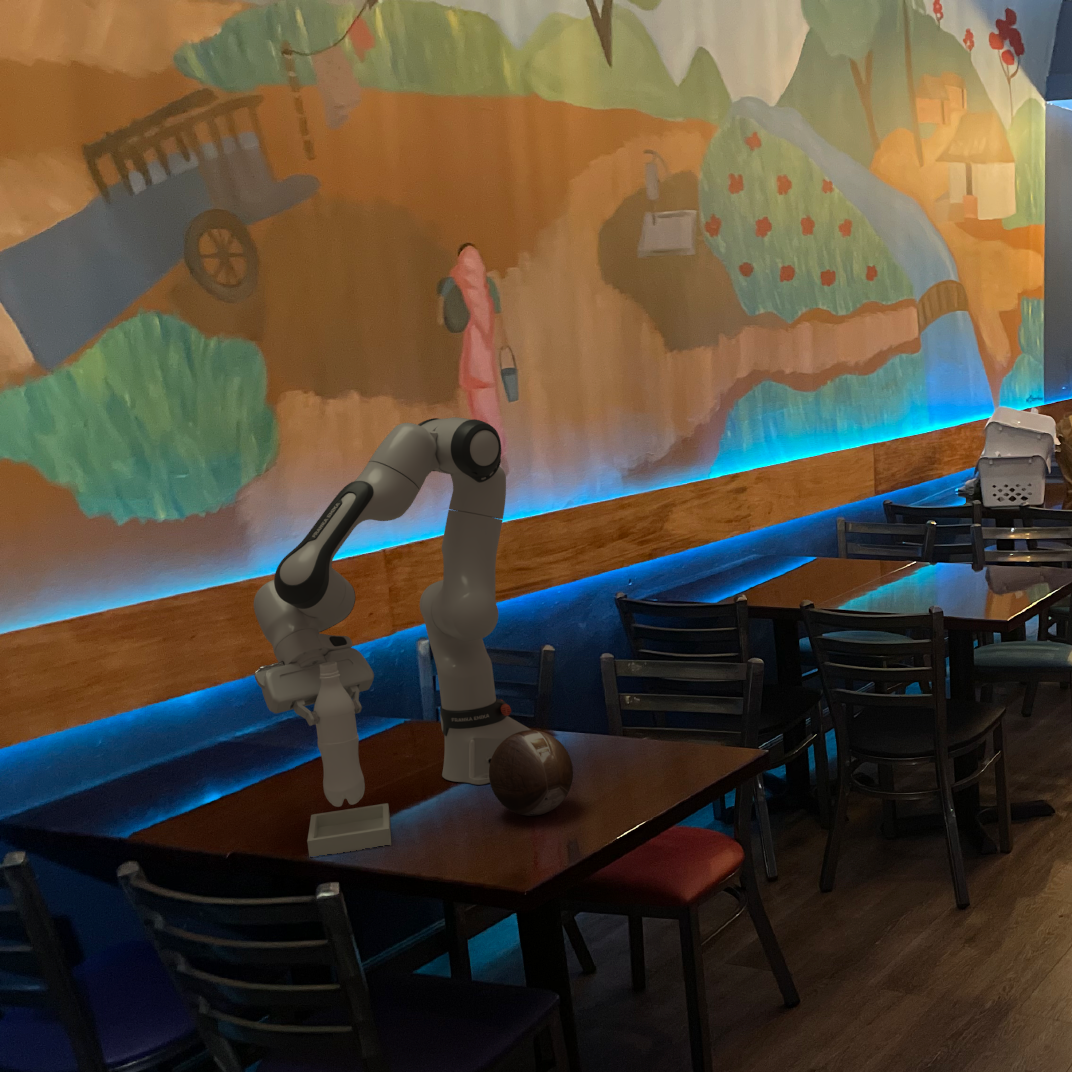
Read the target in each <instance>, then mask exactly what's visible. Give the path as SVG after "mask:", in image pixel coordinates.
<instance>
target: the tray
mask: <svg viewBox="0 0 1072 1072" xmlns="http://www.w3.org/2000/svg"><path fill="white" fill-rule="evenodd" d="M390 814H391V813H390V808H389V802H388V803H386V802H385V803H380V804H375V805H373V804H372V805H367V806H359V807H355V808H347V809H342V810H334V811H328V812H321V813H314V814H311V815H310V822H309V829H308V834H307V840H306V842H307V849H308V857H309V858H310V856H319V855H325V856H328V855H327V854H332V855H337V853H338V854H342V853H343V852H345V853H350V851H351V852H355V851H356V850H357V851H363V850H362V849H364V850H366V849H365V848H370V849H373V848H372V847H377V846H383V847H385V846H384V845H390V846H392V833H391V831H392V829H391V815H390ZM377 848H378V847H377ZM319 857H320V856H319Z"/></svg>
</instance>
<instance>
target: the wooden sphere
mask: <svg viewBox="0 0 1072 1072" xmlns="http://www.w3.org/2000/svg"><path fill="white" fill-rule="evenodd" d="M573 778H574V767H573V762H572V759H571V757H570V754H569V752H568V751H567V749H566V747H565V746H564V745H563V743H562V742H561V741H560V740H559V739H557V738H556V737H555V736H553V735H551V734H549V733H547V732H544V731H542V730H541V731H539V730H533V729H530V730H526V731H521V732H517V733H515V734H513V735H511V736H509V737H508V738H506V739H505V740H504V741H503V742H502V743H501V744H500V745H499V746H498V747H497V749H496V750H495V752H494V754H493V756H492V758H491V762H490V766H489V780H490V783H489V784H490V787H491V790H492V792H493V794H494V796H495V798H496V799H497V800H498V801H499V803H500V804H501V805H502V806H503V807H505V808H506V809H508V810H509V811H511V812H513V813H515V814H517V815H521V816H527V817H528V816H529V817H530V816H531V817H532V816H533V817H535V816H540V815H544V814H547V813H549V812H551V811H553V810H555V809H556V808H557V807H558V806H560V805H561V804H562V802H563V801H564V800H565V799H566V797H567V796H568V794H569V792H570V789H571V787H572V784H573Z"/></svg>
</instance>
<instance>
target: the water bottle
mask: <svg viewBox="0 0 1072 1072" xmlns="http://www.w3.org/2000/svg"><path fill="white" fill-rule="evenodd" d="M320 672H321V673H320V675H321V676H320V677H319V678H320V679H321V687H320V691H319V693H318V696H317V699H316V702H315V704H313V705H314V706H313V711H316V713H317V716H318V717H319V721H318V724H315V727H316V735H317V742H316V743H317V747H318V750H319V752H320V756H321V760H322V767H323V768H322V769H323V778H322V779H323V781H322V786H323V793H324V796H325V798H326V800H327V801H328V802H329V803H330V804H331V805H332V806H334V807H337V808H339V807H342V806H343V804H344V800H346V801H347V802H348V804H349V805H356V804H357V803H359V801H360V800H362V799H363V797H364V794H365V789H366V785H365V777H364V774H363V771H362V768H361V765H360V758H359V757H360V756H359V741H360V737H359V734H358V730H357V720H356V714H355V712H354V710H355V707H354V704H353V698H351V697H350V696H349V694H348V693H347V692H346V690H345V689H344V688H343V686H342V685H341V683H340V680H339V676H340V674H339V673H338V672H339V671H338V670H337V663H336V662H327V663H322V664H320Z"/></svg>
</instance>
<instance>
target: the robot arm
mask: <svg viewBox="0 0 1072 1072" xmlns="http://www.w3.org/2000/svg"><path fill="white" fill-rule="evenodd" d="M501 457H502V443H501V438H500V435H499V433H498V431H497V429H496V428H495V427H493V426H492V425H491V424H490V423H487V422H486V421H483V420H479V419H473V418H472V419H471V418H465V417H449V418H437V417H436V418H429V419H425V420H424V421H422V422H419V423H418V424H416V423H412V422H404V423H403V422H402V423H400V424H397V425H395V427H393V428H392V430H390V431H389V433H388V434H387V435H386V437H385V438H384V439H383V441H381V443H380V444H379V445H378V447H377V448H376V450H375V451H374V453H373V454H372V456H371V457H370V459H369V461H368V462H367V464H366V466H365V467H364V468H363V469H362V472H361V473H360V474H359V476H358V477H356V478H355V479H354V481H351V482H349V483H347V485H345V486H344V487H343V488H342V489H341V490H340V491H339V492H338V494H337V495H335V497H334V498H333V500H332V501H331V503H330V504H328V506H327V508H326V509H325V510H324V512H322V514H321V516H320V517H319V518H318V519H317V520H316V522H315V523H314V525H313V526H312V528H311V529H310V530H309V532H308V533H307V534H306V535H305V537H304V538H303V539H302V540H301V541H300V543H299V544H298V545H297V546H296V547H294V548H293V549H292V550H291V551H290V552H289V553H287V554H286V555H285V556H284V558H282V560H281V561H280V562H279V564H278V565H277V566H276V567H277V568H276V570H275V573H274V579H272V580H270V581H267V582H266V583H265V584H263V585H262V586H261V587H260V588H259V589H258V590H257V592H256V593H255V596H254V599H253V610H254V614H255V618H256V620H257V622H258V625H259V626H260V629H261V631H262V633H263V636H264V637H265V639H266V640H267V642H269V644H271V646H272V651H273V654H274V656H275V658H276V660H277V662H274V663H271V664H269V665H268V664H267V665H266V664H265V665H261V666H259V667H258V669H257V670H255V672H254V679H255V681H256V683H257V685H258V686H259V687H260V688H261V692H262V696H263V698H264V701H265V703H266V707H267V709H268V710H269V711H270V712H272V713H273V714H279V713H283V712H287V711H291V710H293V711H294V712H295V714H296V715H298V716H299V717H302V718H303V719H305V721H306V722H307V724H308V726H310V727H311V726H316V724H318V721H319V717H318V716H317V713H316V711H314V710H313V711H311V710H309V708H307V707H306V706H311V705H315V702H316V699H317V696H318V693H319V691H320V687H321V679H320V678H319V677H320V676H321V675H320V673H321V672H320V664H322V663H327V662H336V663H337V670H338V671H339V672H338V673H339V674H340V676H339V680H340V683H341V685H342V686H343V688H344V689H345V690H346V692H347V693H348V694H349V696H350V697H351V699H352V701H353V704H354V707H355V710H354V712H355V715H356V714H359V713H361V712H362V709H363V707H362V704H361V702H360V701H359V700H360V699H359V697H360V693H361V692H364V691H368V690H370V688H371V686H372V684H373V681H374V678H375V673H374V671H373V669H372V668H371V666H370V663H368V661H367V660H366V658H365V657H364V655H363V654H362V653H361V652H360V651H359V650H358V649H356V648H354V647H352V646H353V641H352V639H351V637H349V636H348V635H333V634H325V633H322V632H325V631H327V630H328V629H330V628H332V627H334V626H336V625H338V624H339V623H341V622H343V621H344V620H346V619H347V618H348V617H349V615H350V614H351V613H352V612H353V610H354V606H355V603H356V592H355V588H354V587H353V585H352V583H350V582H349V580H348V579H346V578H345V577H344V576H343V575H342V574H341V573H339V572H338V571H337V570H336V569H334V568H333V560H334V557H335V556H336V554H337V553H338V551H339V550H340V549H341V548H342V546H343V545H344V543H345V542H346V541H347V539H349V536H350V535H352V532H353V531H354V530H355V528H356V527H357V526H359V524H361V523H363V522H365V521H370V520H373V521H377V522H388V521H389V522H390V521H394V520H396V519H399V518H401V517H402V516H404V515H405V513H406V512H407V511H408V510H409V508H411V506H412V504H413V503H414V502H415V500H416V498H417V496H418V494H419V492H420V490H421V488H422V487H423V485H424V483H425V481H426V479H427V477H428V476H429V475H430V474H431V473H432V472H437V473H442V474H447V475H450V477H451V481H452V482H451V483H452V493H451V497H450V501H449V506H448V512H447V516H446V521H445V527H444V532H443V538H442V543H441V552H442V561H443V576H442V577H443V579H441V580H438V581H436V582H433V583H432V584H430V585H428V586H427V587H426V588H425V589H424V591H423V592H422V594H421V595H420V600H419V611H420V614H421V616H422V618H423V621H424V625H425V630H426V633H427V637H428V642H429V645H430V648H431V652H432V656H433V659H434V662H435V667H436V672H437V679H438V686H439V693H440V694H439V695H440V704H441V705H440V708H439V712H440V713H439V717H440V724H441V725H440V726H441V731H442V734H443V736H444V755H443V756H444V759H443V765H442V766H443V767H442V768H443V769H442V773H441V776H442V778H443V779H445V780H447V781H451V782H456V783H457V782H458V783H467V784H472V785H477V786H479V785H480V786H481V785H486V784H490V780H489V766H490V762H491V758H492V756H493V754H494V752H495V750H496V749H497V747H498V746H499V745H500V744H501V743H502V742H503V741H504V740H505V739H506V738H508V737H509V736H511V735H513V734H515V733H517V732H521V731H526V730H531V728H529V727H527V726H526V725H524V724H522V723H521V722H518V721H517V720H515V719H514V718H512V717H510V714H511V713H512V709H511V706H510V705H509V704H507V702H506V701H504V700H503V699H502V698H500V699H499V698H497V695H496V688H495V679H494V671H493V663H492V659H491V658H490V656H489V654H488V652H487V648H486V645H485V642H484V640H483V639H484V638H486V637H487V636H489V635H490V634H491V633H492V632H493V631H494V630H495V628H496V626H497V624H498V620H499V608H498V605H497V602H496V562H497V552H498V546H499V541H500V536H501V530H502V524H503V520H504V513H505V509H506V508H505V506H506V497H507V496H506V495H507V478H506V477H507V475H506V472H505V471H504V469H503V468H502V467H501V462H502V459H501Z"/></svg>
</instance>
